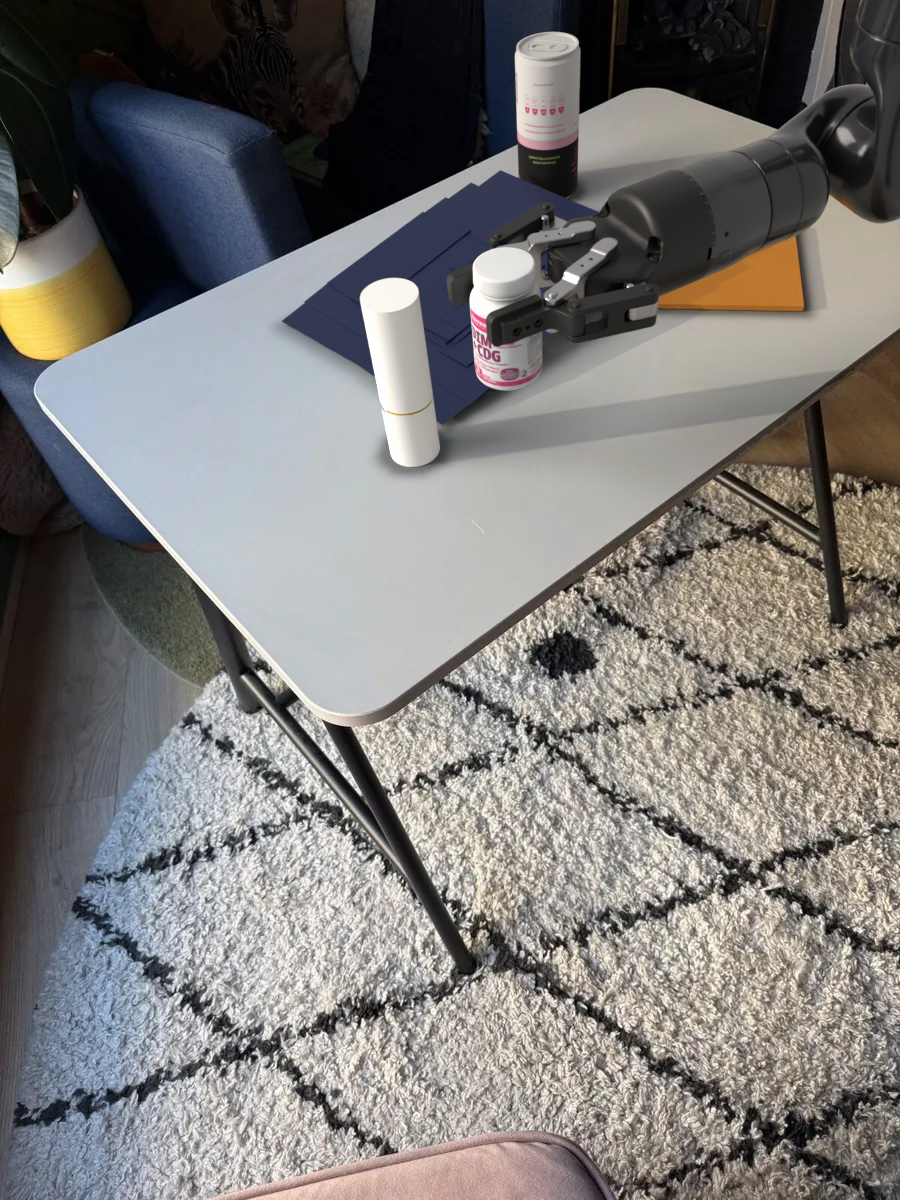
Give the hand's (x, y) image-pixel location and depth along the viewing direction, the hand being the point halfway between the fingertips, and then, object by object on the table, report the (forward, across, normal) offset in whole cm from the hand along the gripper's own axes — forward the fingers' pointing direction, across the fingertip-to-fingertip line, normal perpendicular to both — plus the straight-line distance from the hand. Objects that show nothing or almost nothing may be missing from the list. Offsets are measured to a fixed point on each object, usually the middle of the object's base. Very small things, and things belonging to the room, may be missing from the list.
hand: (470, 310), depth 57 cm
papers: (-12, -25, +18) cm, 33 cm away
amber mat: (-35, -15, +17) cm, 42 cm away
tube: (+2, -8, +18) cm, 20 cm away
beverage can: (-29, -38, +18) cm, 51 cm away
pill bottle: (-3, 0, +6) cm, 7 cm away
